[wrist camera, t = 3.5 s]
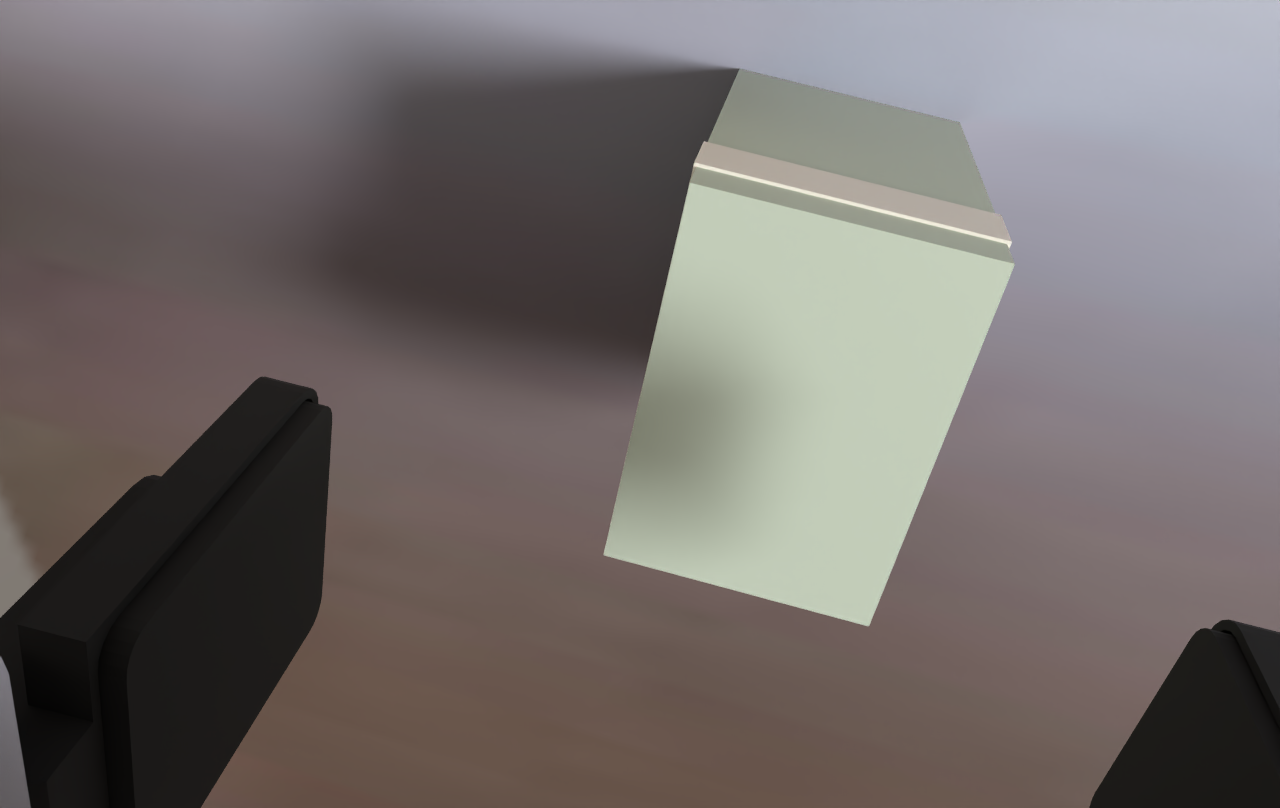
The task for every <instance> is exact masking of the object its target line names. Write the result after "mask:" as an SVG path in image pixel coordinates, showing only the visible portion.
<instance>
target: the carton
mask: <svg viewBox="0 0 1280 808" xmlns="http://www.w3.org/2000/svg"><path fill="white" fill-rule="evenodd" d="M1011 242H1012V241H1011V238H1010V236H1009V233H1008V231H1007V228H1006V226H1005V223H1004V221H1003V219H1002V216H1001V215H999V214H995V212H994V209H993V207H992V204H991V202H990V199H989V196H988V194H987V191H986V189H985V186H984V184H983V181H982V178H981V176H980V173H979V171H978V168H977V166H976V163H975V160H974V158H973V155H972V153H971V150H970V148H969V145H968V142H967V140H966V137H965V135H964V132H963V130H962V127H961V125H960V122H955V121H951V120H947V119H943V118H939V117H935V116H931V115H927V114H923V113H919V112H915V111H911V110H906V109H902V108H898V107H894V106H890V105H886V104H882V103H878V102H874V101H870V100H866V99H862V98H857V97H853V96H849V95H845V94H841V93H837V92H833V91H829V90H825V89H821V88H817V87H813V86H808V85H804V84H800V83H796V82H792V81H788V80H784V79H780V78H776V77H772V76H768V75H763V74H759V73H755V72H751V71H747V70H743V69H739V71H738V73H737V76H736V78H735V80H734V83H733V85H732V87H731V90H730V92H729V94H728V96H727V99H726V101H725V103H724V106H723V108H722V110H721V112H720V115H719V117H718V119H717V122H716V124H715V126H714V128H713V131H712V133H711V135H710V138H709V140H708V142H705V141H704V142H703V144H702V146H701V148H700V151H699V153H698V155H697V157H696V160H695V162H694V165H693V170H692V174H691V178H690V183H689V187H688V191H687V196H686V200H685V204H684V209H683V213H682V217H681V222H680V226H679V230H678V235H677V239H676V243H675V248H674V252H673V256H672V261H671V265H670V269H669V274H668V278H667V282H666V286H665V291H664V295H663V299H662V304H661V308H660V312H659V317H658V321H657V325H656V330H655V334H654V338H653V343H652V347H651V351H650V356H649V360H648V364H647V369H646V373H645V377H644V382H643V386H642V390H641V395H640V399H639V403H638V407H637V412H636V416H635V420H634V425H633V429H632V433H631V438H630V442H629V446H628V451H627V455H626V459H625V464H624V468H623V472H622V477H621V481H620V485H619V490H618V494H617V498H616V503H615V507H614V511H613V516H612V520H611V524H610V528H609V529H610V530H609V534H608V538H607V542H606V547H605V551H604V555H605V556H609V557H613V558H616V559H620V560H624V561H627V562H631V563H635V564H639V565H642V566H646V567H650V568H654V569H657V570H661V571H665V572H668V573H672V574H676V575H680V576H683V577H687V578H691V579H694V580H698V581H702V582H706V583H709V584H713V585H717V586H720V587H724V588H728V589H732V590H735V591H739V592H743V593H747V594H750V595H754V596H758V597H761V598H765V599H769V600H773V601H776V602H780V603H784V604H787V605H791V606H795V607H799V608H802V609H806V610H810V611H813V612H817V613H821V614H825V615H828V616H832V617H836V618H839V619H843V620H847V621H851V622H854V623H858V624H862V625H866V626H869V625H870V622H871V620H872V617H873V615H874V612H875V610H876V607H877V605H878V602H879V600H880V597H881V595H882V592H883V590H884V587H885V585H886V583H887V580H888V578H889V575H890V573H891V570H892V568H893V565H894V563H895V560H896V558H897V555H898V553H899V550H900V548H901V545H902V543H903V540H904V538H905V535H906V533H907V530H908V528H909V525H910V523H911V520H912V518H913V516H914V513H915V511H916V508H917V506H918V503H919V501H920V498H921V496H922V493H923V491H924V488H925V486H926V483H927V481H928V478H929V476H930V473H931V471H932V468H933V466H934V463H935V461H936V458H937V456H938V453H939V451H940V449H941V446H942V444H943V441H944V439H945V436H946V434H947V431H948V429H949V426H950V424H951V421H952V419H953V416H954V414H955V411H956V409H957V406H958V404H959V401H960V399H961V396H962V394H963V391H964V389H965V386H966V384H967V382H968V379H969V377H970V374H971V372H972V369H973V367H974V364H975V362H976V359H977V357H978V354H979V352H980V349H981V347H982V344H983V342H984V339H985V337H986V334H987V332H988V329H989V327H990V324H991V322H992V319H993V317H994V315H995V312H996V310H997V307H998V305H999V302H1000V300H1001V297H1002V295H1003V292H1004V290H1005V287H1006V285H1007V282H1008V280H1009V277H1010V275H1011V272H1012V270H1013V267H1014V265H1015V263H1014V261H1013V258H1012V256H1011V253H1010V250H1009V247H1010V245H1011Z"/></svg>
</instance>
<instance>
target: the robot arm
mask: <svg viewBox="0 0 1280 808" xmlns="http://www.w3.org/2000/svg"><path fill="white" fill-rule="evenodd" d="M331 431H332V412H331V409H330V408H329V407H328V406H324V405H320V404H318V397H317V393H316V391H315V390H314V389H312V388H308V387H304V386H300V385H296V384H292V383H288V382H284V381H280V380H276V379H272V378H268V377H260V378H258V379H257V380H256V381H254V382H253V383H252V384H251V385H250V386H249V387H248V388H247V389H246V390H245V392H244V393H243V394H242V395H241V396H240V397H239V398H238V399H237V400H236V401H235V402H234V403H233V404H232V405H231V406H230V407H229V408H228V409H227V410H226V411H225V412H224V413H223V414H222V415H221V416H220V417H219V418H218V419H217V420H216V421H215V422H214V423H213V424H212V425H211V426H210V427H209V428H208V429H207V430H206V431H205V432H204V433H203V435H202V436H201V437H200V438H199V439H198V440H197V441H196V442H195V443H194V444H193V445H192V446H191V447H190V448H189V449H188V450H187V451H186V452H185V453H184V454H183V455H182V456H181V457H180V458H179V459H178V460H177V461H176V462H175V463H174V464H173V465H172V466H171V467H170V468H169V469H168V470H167V471H166V472H165V473H164V474H163V475H162V477H160V476H156V475H151V476H147V477H144V478H143V479H141V480H140V481H139V482H137V483H136V484H135V485H133V486H132V487H131V488H130V489H129V490H128V491H127V492H126V493H125V494H124V495H123V496H122V497H121V498H120V499H119V500H118V501H117V502H116V503H115V504H114V505H113V506H112V507H111V508H110V509H109V510H108V511H107V512H106V513H105V514H104V515H103V516H102V517H101V518H100V519H99V520H98V521H97V522H96V523H95V524H94V525H93V526H92V527H91V528H90V529H89V530H88V531H87V532H86V533H85V534H84V535H83V536H82V537H81V538H80V539H79V540H78V541H77V542H76V543H75V544H74V545H73V546H72V547H71V548H70V549H69V550H68V551H67V552H66V553H65V554H64V555H63V556H62V557H61V558H60V559H59V560H58V561H57V562H56V563H55V564H54V565H53V566H52V567H51V568H50V569H49V570H48V571H47V572H46V573H45V574H44V575H43V576H42V577H41V578H40V579H39V580H38V581H37V582H36V583H35V584H34V585H33V586H32V587H31V588H30V589H29V590H28V591H27V592H26V593H25V594H24V595H23V596H22V597H21V598H20V599H19V600H18V601H17V602H16V603H15V604H14V605H13V606H12V607H11V608H10V609H9V610H8V611H7V612H6V613H5V614H4V615H3V616H2V617H1V618H0V808H201V806H202V804H203V803H204V801H205V800H206V798H207V796H208V795H209V793H210V792H211V790H212V788H213V787H214V785H215V783H216V782H217V780H218V779H219V777H220V775H221V774H222V772H223V770H224V769H225V767H226V766H227V764H228V762H229V761H230V759H231V758H232V756H233V754H234V753H235V751H236V749H237V748H238V746H239V745H240V743H241V741H242V740H243V738H244V737H245V735H246V733H247V732H248V730H249V728H250V727H251V725H252V724H253V722H254V720H255V719H256V717H257V716H258V714H259V712H260V711H261V709H262V707H263V706H264V704H265V703H266V701H267V699H268V698H269V696H270V695H271V693H272V691H273V690H274V688H275V686H276V685H277V683H278V682H279V680H280V678H281V677H282V675H283V673H284V672H285V670H286V669H287V667H288V665H289V664H290V662H291V661H292V659H293V657H294V656H295V654H296V652H297V651H298V649H299V648H300V646H301V644H302V643H303V641H304V640H305V638H306V636H307V635H308V633H309V631H310V630H311V628H312V626H313V624H314V622H315V619H316V617H317V614H318V611H319V607H320V603H321V597H322V584H323V567H324V550H325V533H326V516H327V499H328V482H329V465H330V448H331ZM1090 808H1280V632H1276V631H1272V630H1268V629H1264V628H1260V627H1256V626H1252V625H1248V624H1244V623H1240V622H1236V621H1232V620H1222V621H1220V622H1219V623H1217V624H1215V625H1214V626H1213V628H1212V629H1207V628H1204V629H1200V630H1198V631H1197V632H1196V633H1195V634H1194V635H1193V636H1192V638H1191V639H1190V641H1189V642H1188V644H1187V646H1186V647H1185V649H1184V650H1183V652H1182V654H1181V655H1180V657H1179V659H1178V660H1177V662H1176V663H1175V665H1174V667H1173V668H1172V670H1171V671H1170V673H1169V675H1168V676H1167V678H1166V679H1165V681H1164V683H1163V684H1162V686H1161V688H1160V689H1159V691H1158V692H1157V694H1156V696H1155V697H1154V699H1153V700H1152V702H1151V704H1150V705H1149V707H1148V708H1147V710H1146V712H1145V713H1144V715H1143V717H1142V718H1141V720H1140V721H1139V723H1138V725H1137V726H1136V728H1135V729H1134V731H1133V733H1132V734H1131V736H1130V737H1129V739H1128V741H1127V742H1126V744H1125V746H1124V747H1123V749H1122V750H1121V752H1120V754H1119V755H1118V757H1117V758H1116V760H1115V762H1114V763H1113V765H1112V766H1111V768H1110V770H1109V771H1108V773H1107V775H1106V776H1105V778H1104V779H1103V781H1102V783H1101V784H1100V786H1099V787H1098V789H1097V791H1096V792H1095V794H1094V796H1093V798H1092V801H1091V804H1090Z"/></svg>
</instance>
